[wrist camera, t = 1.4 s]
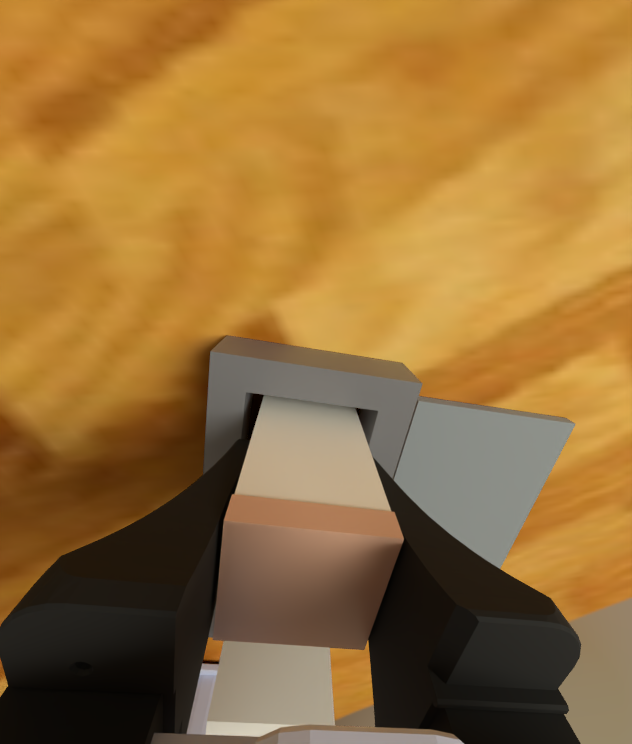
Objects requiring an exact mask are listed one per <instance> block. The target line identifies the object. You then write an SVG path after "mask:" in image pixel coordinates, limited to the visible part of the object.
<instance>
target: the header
mask: <svg viewBox="0 0 632 744" xmlns="http://www.w3.org/2000/svg"><path fill="white" fill-rule="evenodd" d="M421 386H422V383H421V382H420V381H419V380H418V379H417V377H416V376H415V375H414V374H413V373H412V372H411V371H410V370H409V369H408V368H407V367H406V366H405V365H404V364H403V363H399V362H393V361H386V360H380V359H374V358H367V357H361V356H355V355H348V354H342V353H336V352H329V351H323V350H317V349H310V348H304V347H298V346H291V345H285V344H279V343H272V342H266V341H260V340H253V339H247V338H241V337H234V336H228V335H227V336H226V337H225V338H224V339H223V340H222V341H220V342H219V343H218V344H217V345H216V346H215V347H214V348H213V349H212V350H211V351H210V365H209V382H208V399H207V416H206V433H205V450H204V467H203V475H204V474H205V473H206V472H207V471H208V470H209V469H210V468H211V467H212V466H213V465H214V464H215V463H216V462H217V461H218V460H219V459H221V457H222V456H223V455H224V454H225V453H226V452H227V451H228V450H229V449H230V448H231V447H232V445H233V444H234V443H235V442H236V441H237V440H238V439H245V440H248V433H249V424H250V416H251V407H252V398H253V393H255V394H262V395H269V396H276V397H283V398H291V399H298V400H305V401H312V402H319V403H326V404H333V405H340V406H347V407H354V408H361V410H360V414H359V420H360V423H361V426H362V428H363V431H364V434H365V437H366V440H367V443H368V446H369V449H370V451H371V454H372V456H373V457H374V458H375V459H376V461H377V462H378V463H379V464H380V465H381V466H382V467H383V469H384V470H385V471H386V472H387V473H388V474H389V475H390V477H391V478H392V479H393V476H394V472H395V469H396V466H397V463H398V460H399V457H400V453H401V450H402V447H403V444H404V441H405V437H406V434H407V431H408V428H409V425H410V422H411V418H412V415H413V412H414V409H415V406H416V402H417V399H418V396H419V393H420V390H421ZM215 611H216V606H215V610H214V614H213V619H212V623H211V627H210V631H209V636H208V637H213V633H214V622H215Z"/></svg>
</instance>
